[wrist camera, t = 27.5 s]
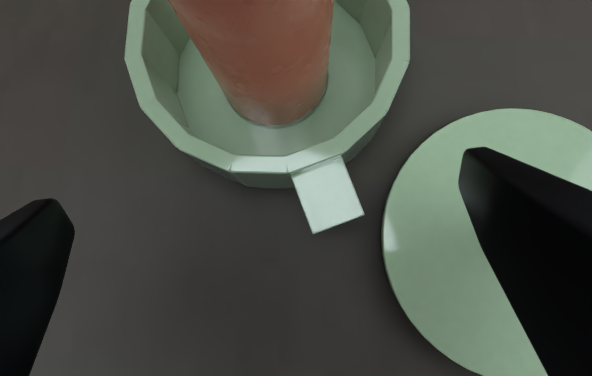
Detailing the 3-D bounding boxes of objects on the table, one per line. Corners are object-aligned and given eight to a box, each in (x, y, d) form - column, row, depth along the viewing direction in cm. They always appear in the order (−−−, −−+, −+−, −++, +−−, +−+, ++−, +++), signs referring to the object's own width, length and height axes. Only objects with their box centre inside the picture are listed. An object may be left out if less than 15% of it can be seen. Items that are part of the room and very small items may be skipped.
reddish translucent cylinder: (349, 87, 21) (405, -149, 8) (263, 150, 21) (185, 7, 8) (286, 9, 22) (248, -315, 9) (202, 69, 22) (42, -178, 9)
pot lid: (572, 79, 21) (664, 22, 16) (695, 321, 19) (850, 354, 14) (341, 166, 21) (350, 139, 16) (440, 417, 19) (492, 489, 14)
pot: (323, -90, 23) (325, -179, 18) (443, 186, 21) (484, 169, 16) (127, -17, 23) (76, -87, 18) (223, 269, 21) (195, 278, 16)
